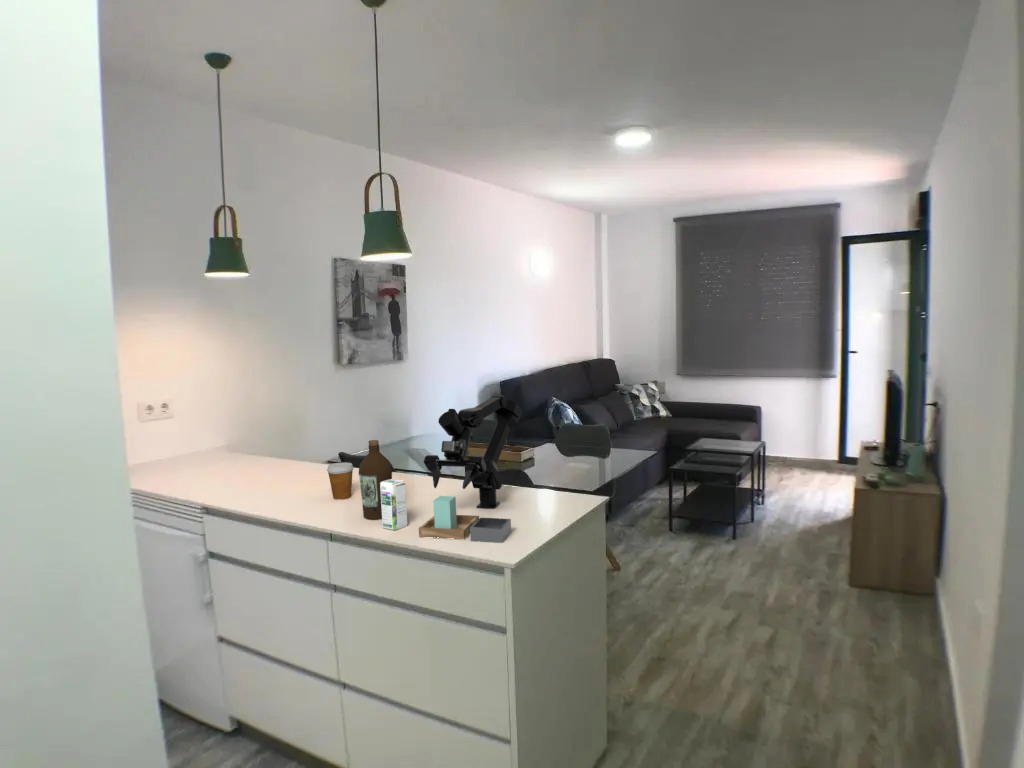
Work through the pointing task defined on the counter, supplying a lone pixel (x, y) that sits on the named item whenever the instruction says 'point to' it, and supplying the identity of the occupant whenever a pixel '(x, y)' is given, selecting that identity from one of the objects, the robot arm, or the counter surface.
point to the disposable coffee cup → (340, 479)
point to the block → (445, 512)
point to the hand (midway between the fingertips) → (449, 487)
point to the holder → (490, 530)
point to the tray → (460, 533)
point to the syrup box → (393, 504)
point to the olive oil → (373, 480)
